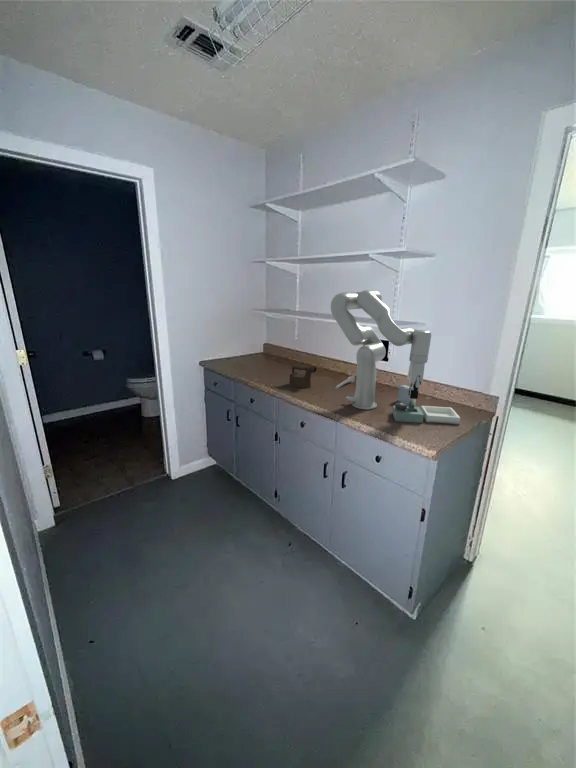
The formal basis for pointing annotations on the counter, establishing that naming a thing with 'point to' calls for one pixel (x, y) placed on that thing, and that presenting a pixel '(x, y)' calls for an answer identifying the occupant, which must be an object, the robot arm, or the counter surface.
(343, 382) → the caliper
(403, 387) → the medicine box
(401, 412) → the green slotted box
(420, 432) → the counter surface
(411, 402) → the pin
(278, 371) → the counter surface
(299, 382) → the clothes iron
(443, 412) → the tray
